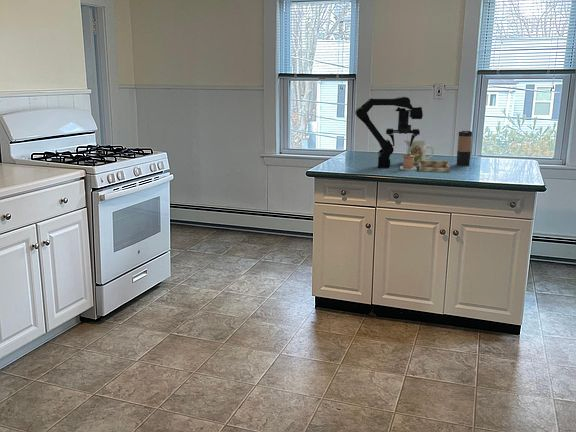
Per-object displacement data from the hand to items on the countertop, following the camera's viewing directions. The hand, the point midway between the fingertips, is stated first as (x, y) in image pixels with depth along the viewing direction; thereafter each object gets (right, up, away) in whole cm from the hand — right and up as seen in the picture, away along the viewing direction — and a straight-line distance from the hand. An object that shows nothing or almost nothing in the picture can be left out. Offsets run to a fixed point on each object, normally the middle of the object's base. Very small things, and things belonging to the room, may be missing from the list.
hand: (402, 146), depth 326 cm
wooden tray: (+17, -14, -6) cm, 22 cm away
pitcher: (+12, -8, +16) cm, 22 cm away
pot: (+3, -12, -4) cm, 13 cm away
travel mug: (+38, -10, +8) cm, 40 cm away
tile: (+3, -13, -3) cm, 14 cm away
